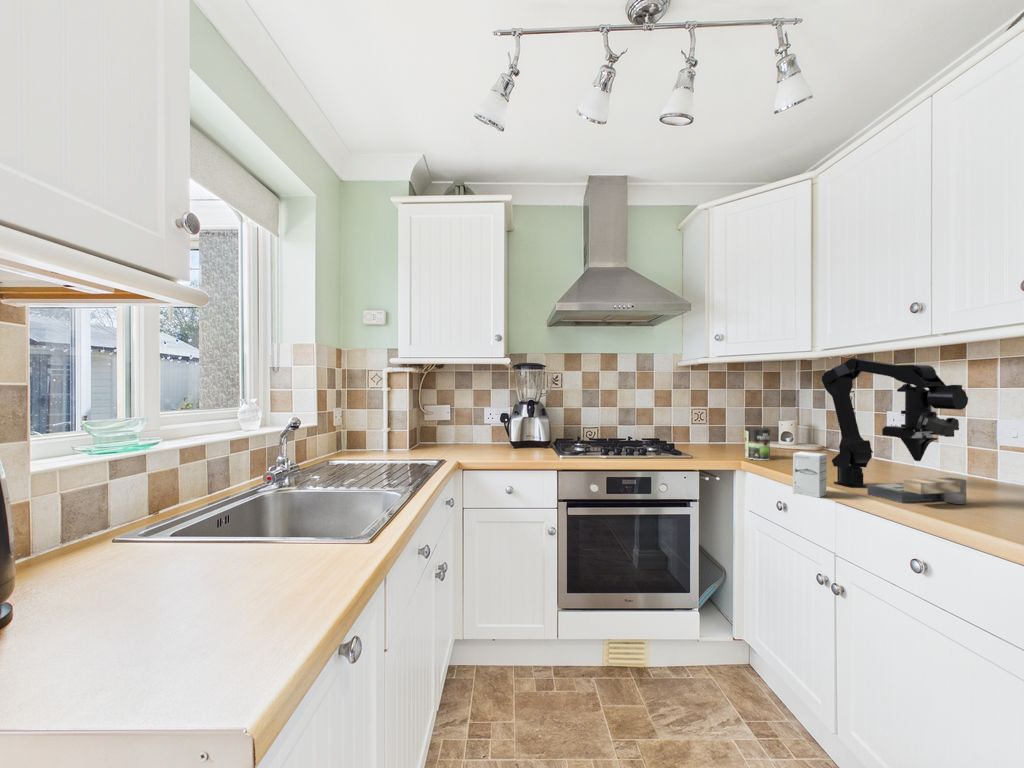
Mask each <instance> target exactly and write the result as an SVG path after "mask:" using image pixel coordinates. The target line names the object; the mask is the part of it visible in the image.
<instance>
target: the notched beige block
mask: <svg viewBox="0 0 1024 768" xmlns="http://www.w3.org/2000/svg"><path fill="white" fill-rule="evenodd" d="M903 483H904V491H908V492H913V493H918V494H933V493H945V500H944V502H947V503H949V504H956V505H967V480H966V479H964V478H963V479H962V478H957V477H956V478H955V477H937V478H936V477H935V478H916V479H913V478H912V479H903Z"/></svg>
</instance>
